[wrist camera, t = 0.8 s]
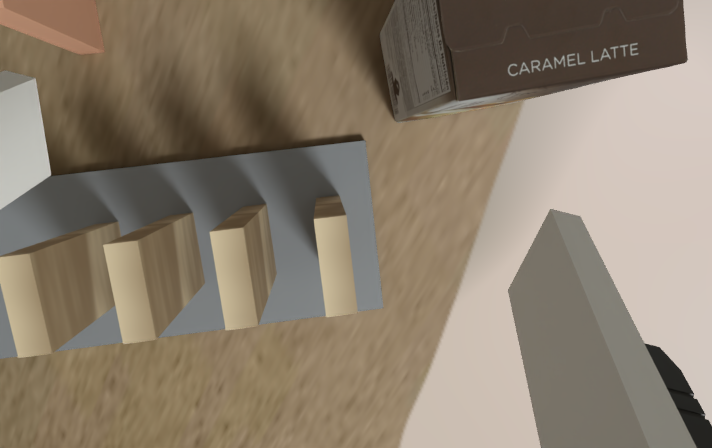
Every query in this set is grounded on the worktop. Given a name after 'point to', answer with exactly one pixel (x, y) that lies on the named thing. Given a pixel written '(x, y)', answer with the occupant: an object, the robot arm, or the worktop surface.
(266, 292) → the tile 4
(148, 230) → the tile
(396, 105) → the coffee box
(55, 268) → the tile
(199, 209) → the slate board
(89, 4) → the tile
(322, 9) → the worktop surface
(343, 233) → the wooden block
